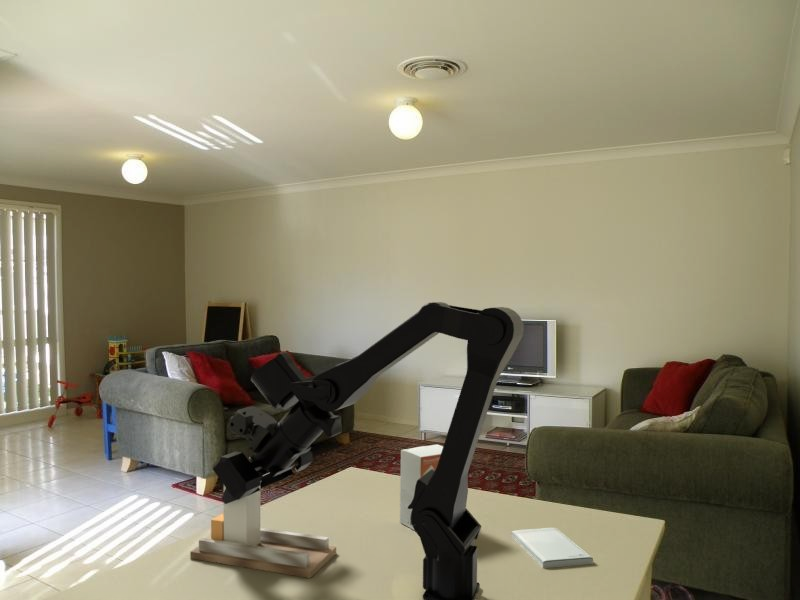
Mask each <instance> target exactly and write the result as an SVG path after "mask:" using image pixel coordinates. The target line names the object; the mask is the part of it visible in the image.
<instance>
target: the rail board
mask: <svg viewBox="0 0 800 600" xmlns="http://www.w3.org/2000/svg"><path fill="white" fill-rule="evenodd" d="M329 544H330V543H329V537H328V536H327V537H326V536H321V535H314V534H313V535H312V534H306V533H302V532H301V533H300V532H292V531H287V530H286V531H285V530H279V529H271V528H263V527H260V543H259V544H258V545H256V546H253V545H247V544H240V543H234V542H227V541H220V540H214V539H211V538H207V537H202V538H200V539H199V540H198V546H197V547H196V548H194V549H192V550H191V551H190V552H189V553H190V555H189V557H190V559H194V560H199V561H204V562H205V561H206V562H212V563H216V562H217V564H224V565H228V566H229V565H230V566H236V567H241V568H246V569H253V570H260V571H265V572H270V573H271V572H272V573H277V574H283V575H284V574H285V575H290V576H296V577H302V578H308V579H311V578H312V577H313V576H314V575H315V574H316V573H318V572H319V570H321V569H322V567H324V566H325V565H326V564H327V563H328V562H329V561H330V560H332V558H333V557H334V556H336V554H337V546H332V545H329Z"/></svg>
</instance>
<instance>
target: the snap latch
mask: <svg viewBox="0 0 800 600" xmlns="http://www.w3.org/2000/svg"><path fill="white" fill-rule="evenodd" d="M210 539H214V540H220V541H224V512H222V513H221V514H218V515H217V516H215V517H214V518H212V519H211V520H210Z"/></svg>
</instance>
